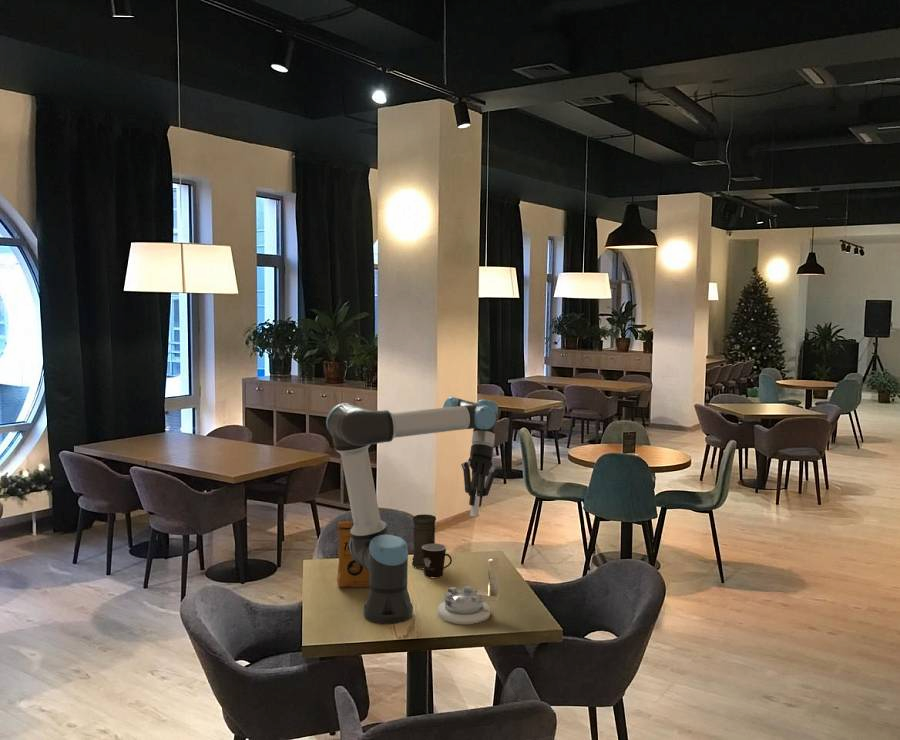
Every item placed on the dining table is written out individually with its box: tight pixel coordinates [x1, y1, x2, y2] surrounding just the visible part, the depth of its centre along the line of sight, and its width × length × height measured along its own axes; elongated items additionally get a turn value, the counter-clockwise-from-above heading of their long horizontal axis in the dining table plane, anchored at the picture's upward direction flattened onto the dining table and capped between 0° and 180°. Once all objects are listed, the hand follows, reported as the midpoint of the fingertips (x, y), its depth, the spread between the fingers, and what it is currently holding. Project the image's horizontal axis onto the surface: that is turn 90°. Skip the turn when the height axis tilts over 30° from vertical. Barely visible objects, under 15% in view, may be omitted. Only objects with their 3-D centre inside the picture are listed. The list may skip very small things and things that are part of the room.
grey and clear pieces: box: [444, 557, 500, 615], centre depth 252 cm, size 16×12×16 cm
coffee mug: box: [422, 543, 453, 578], centre depth 288 cm, size 12×9×10 cm
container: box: [411, 514, 437, 569], centre depth 299 cm, size 9×9×18 cm
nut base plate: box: [437, 601, 491, 625], centre depth 254 cm, size 16×16×2 cm
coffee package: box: [336, 521, 370, 588], centre depth 278 cm, size 10×12×22 cm
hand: (473, 516), depth 268 cm, fingers closed
